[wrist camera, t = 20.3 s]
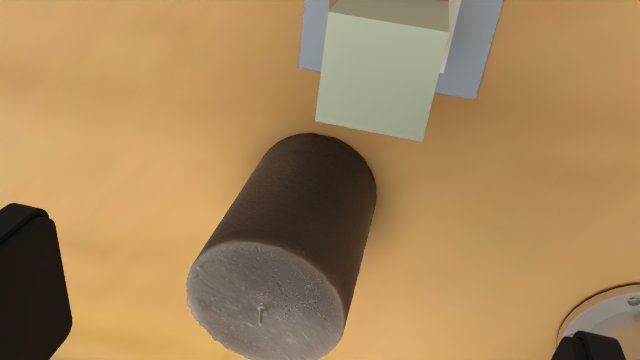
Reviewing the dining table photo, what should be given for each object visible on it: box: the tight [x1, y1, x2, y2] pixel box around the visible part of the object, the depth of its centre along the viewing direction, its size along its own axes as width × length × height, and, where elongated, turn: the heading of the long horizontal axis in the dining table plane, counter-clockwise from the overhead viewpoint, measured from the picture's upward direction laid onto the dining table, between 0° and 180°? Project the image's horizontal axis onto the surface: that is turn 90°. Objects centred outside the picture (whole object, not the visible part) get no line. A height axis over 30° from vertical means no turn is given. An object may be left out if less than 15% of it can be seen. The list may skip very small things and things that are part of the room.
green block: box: [315, 0, 449, 142], centre depth 26 cm, size 5×5×6 cm
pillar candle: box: [187, 134, 376, 360], centre depth 36 cm, size 10×10×15 cm
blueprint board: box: [298, 0, 503, 100], centre depth 33 cm, size 12×10×1 cm
